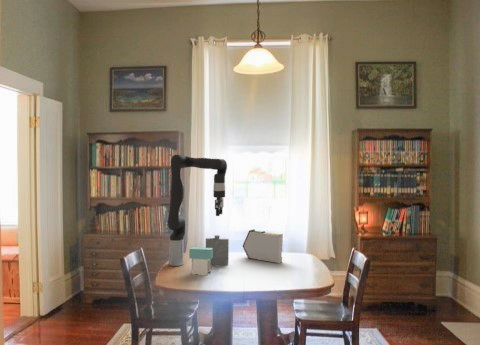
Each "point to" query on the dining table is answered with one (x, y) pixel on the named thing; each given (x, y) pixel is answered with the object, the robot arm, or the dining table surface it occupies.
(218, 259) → the hip flask
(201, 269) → the cream rectangular block
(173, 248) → the robot arm
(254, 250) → the model house
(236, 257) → the dining table surface
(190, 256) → the teal rectangular block
